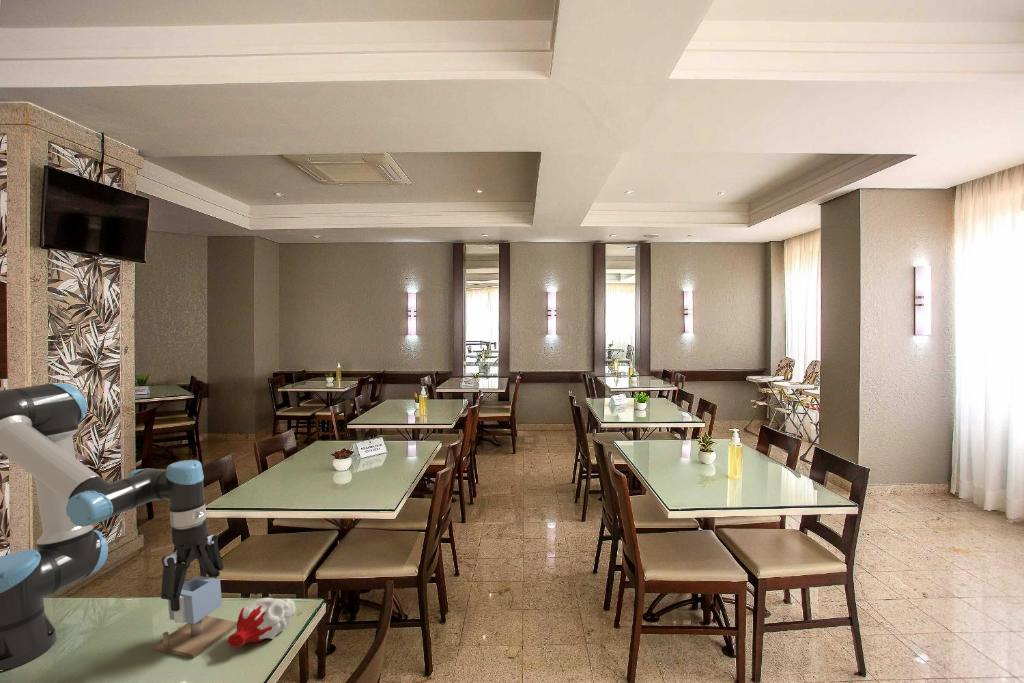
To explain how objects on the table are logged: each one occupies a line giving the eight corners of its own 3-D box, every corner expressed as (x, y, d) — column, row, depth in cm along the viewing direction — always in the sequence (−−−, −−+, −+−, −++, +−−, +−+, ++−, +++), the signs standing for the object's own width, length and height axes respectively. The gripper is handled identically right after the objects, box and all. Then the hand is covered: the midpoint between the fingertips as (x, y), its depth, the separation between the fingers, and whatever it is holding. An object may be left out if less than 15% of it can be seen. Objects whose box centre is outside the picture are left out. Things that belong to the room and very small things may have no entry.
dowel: (162, 646, 124) (161, 634, 124) (166, 643, 125) (166, 631, 125) (165, 647, 123) (164, 635, 123) (170, 644, 125) (169, 632, 124)
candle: (300, 621, 133) (255, 666, 119) (266, 614, 137) (218, 656, 123) (295, 590, 131) (249, 632, 117) (261, 584, 135) (212, 623, 121)
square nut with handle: (222, 605, 131) (219, 579, 130) (194, 624, 123) (191, 596, 123) (188, 599, 134) (186, 574, 134) (159, 617, 127) (157, 590, 126)
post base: (153, 649, 124) (151, 621, 124) (200, 618, 137) (199, 593, 136) (193, 658, 120) (191, 630, 120) (238, 625, 133) (236, 600, 132)
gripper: (159, 543, 116) (167, 639, 117) (235, 508, 136) (241, 591, 137) (136, 540, 118) (144, 634, 119) (213, 506, 138) (220, 587, 139)
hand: (196, 611), depth 128 cm, fingers closed on square nut with handle, 8 cm apart
